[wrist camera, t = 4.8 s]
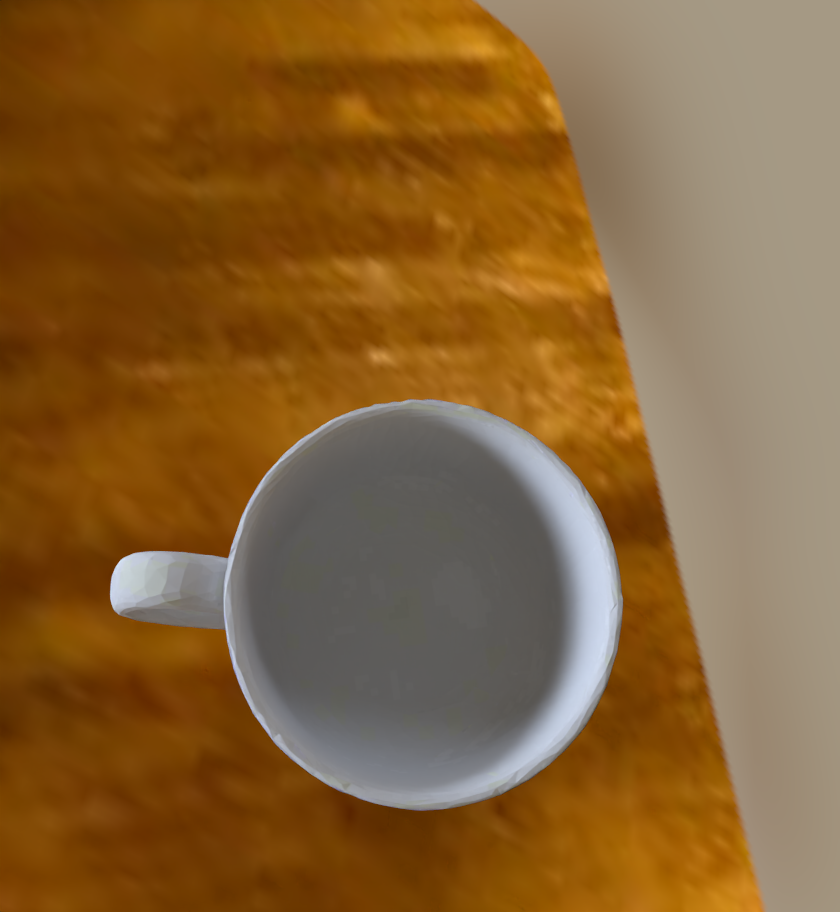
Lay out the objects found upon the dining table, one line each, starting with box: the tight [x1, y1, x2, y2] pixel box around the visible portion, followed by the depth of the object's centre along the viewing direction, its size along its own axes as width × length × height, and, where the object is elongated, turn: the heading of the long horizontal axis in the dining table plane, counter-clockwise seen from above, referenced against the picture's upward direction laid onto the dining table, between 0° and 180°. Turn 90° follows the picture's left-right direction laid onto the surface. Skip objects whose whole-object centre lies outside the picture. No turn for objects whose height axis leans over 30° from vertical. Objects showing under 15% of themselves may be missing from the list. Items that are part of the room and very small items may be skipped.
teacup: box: [110, 399, 623, 810], centre depth 25 cm, size 14×11×8 cm
